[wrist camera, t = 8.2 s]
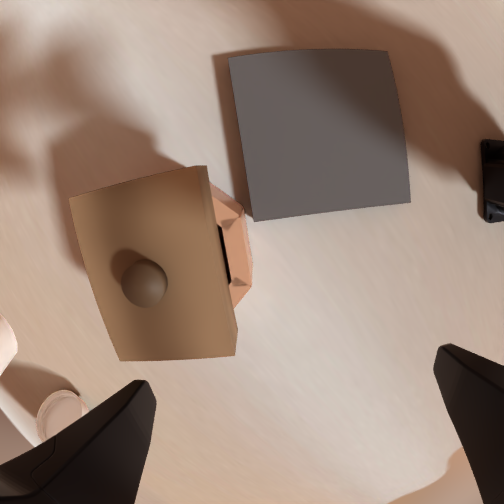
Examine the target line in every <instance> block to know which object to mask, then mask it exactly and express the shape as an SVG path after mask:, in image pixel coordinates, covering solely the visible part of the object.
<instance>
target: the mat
mask: <svg viewBox="0 0 504 504" xmlns="http://www.w3.org/2000/svg"><path fill="white" fill-rule="evenodd" d="M228 62H229V68H230V74H231V81H232V87H233V93H234V99H235V105H236V112H237V118H238V124H239V130H240V137H241V143H242V149H243V156H244V162H245V168H246V175H247V181H248V188H249V194H250V200H251V207H252V213H253V220H254V222H258V221H265V220H273V219H280V218H287V217H294V216H302V215H309V214H317V213H325V212H333V211H341V210H349V209H358V208H366V207H375V206H384V205H393V204H403V203H411V198H410V183H409V171H408V160H407V151H406V143H405V136H404V129H403V122H402V116H401V110H400V105H399V99H398V94H397V89H396V85H395V80H394V76H393V71H392V67H391V63H390V59H389V56H388V52H387V51H377V50H360V49H307V50H290V51H277V52H267V53H258V54H251V55H243V56H237V57H230V58H228Z"/></svg>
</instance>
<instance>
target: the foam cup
mask: <svg viewBox="0 0 504 504" xmlns="http://www.w3.org/2000/svg"><path fill="white" fill-rule="evenodd" d="M16 353H17V341H16V338H15V335H14V333H13V330H12V329H11V327H10V325H9V324H8V322H7V320H6V319H5V318H4V317H3V315H2V314H1V313H0V376H1V374H2V373H3V371H4V370H5V368H6V367H7V366H8V364H9V363H10V361H11V360H12V358H13V357H14V356H15V354H16Z"/></svg>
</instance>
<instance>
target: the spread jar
mask: <svg viewBox="0 0 504 504" xmlns="http://www.w3.org/2000/svg"><path fill="white" fill-rule="evenodd" d="M88 412H89V410H88V407H87V405H86V403H85V402H84V401H83V400H82V399H81V398H79V397H78V396H77V395H76V394H75V393H73V392H72V391H69V390H60V391H57V392H54V393H53V394H51V395H50V396H49V397H47V398H46V400H45V401H44V402H43V403H42V405H41V407H40V409H39V411H38V414H37V419H36V429H37V433H38V436H39V438H40V439H41V441H42V442H45V441H46V440H48V439H49V438H51V437H52V436H54V435H56V434H57V433H58V432H60V431H61V430H63V429H64V428H66V427H67V426H69V425H70V424H72V423H73V422H75V421H76V420H78V419H79V418H81V417H82V416H84V415H85V414H87V413H88Z"/></svg>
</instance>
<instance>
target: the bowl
mask: <svg viewBox="0 0 504 504" xmlns="http://www.w3.org/2000/svg"><path fill="white" fill-rule="evenodd" d="M209 183H210V182H209ZM210 189H211V194H212V200H213V205H214V211H215V217H216V222H217V227H218V233H219V238H220V243H221V249H222V254H223V259H224V264H225V269H226V274H227V279H228V284H229V289H230V294H231V299H232V304H233V309H234V308H235V306H236V305H237V304H238V303H239V301H240V300H241V299H242V298H243V297H244V295H245V294H246V293H247V292H248V290H249V289H250V288H251V285H252V270H253V262H252V255H251V249H250V243H249V237H248V230H247V224H246V218H245V211H244V208H242V207H243V206H242V205H241V204H240V203H238V202H237V201H235V200H234V199H233V198H231V197H230V196H228V195H227V194H226V193H224V192H223V191H221V190H220V189H219V188H217V187H216V186H214V185H213V184H212V183H210Z"/></svg>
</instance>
